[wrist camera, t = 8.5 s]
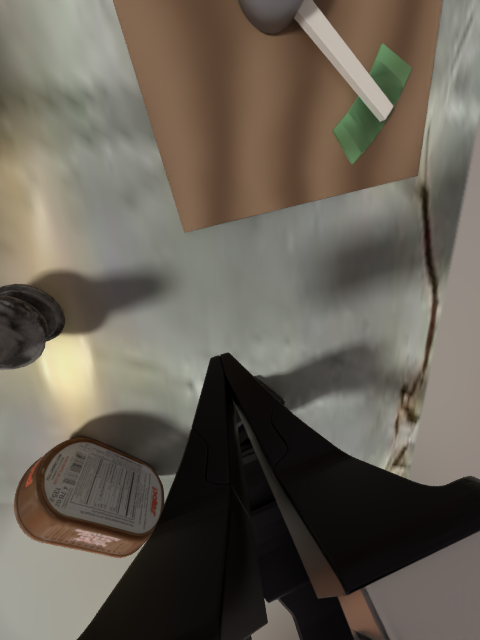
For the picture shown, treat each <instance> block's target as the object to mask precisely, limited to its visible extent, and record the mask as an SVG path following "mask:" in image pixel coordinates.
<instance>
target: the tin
mask: <svg viewBox="0 0 480 640" xmlns="http://www.w3.org/2000/svg"><path fill="white" fill-rule="evenodd" d="M163 507H164V490H163V485H162V482H161V480H160V478H159V476H158V475H157V473H156V472H155V470H154V469H153V468H152V467H151V466H150V465H148V464H147V463H145V462H143V461H140V460H138V459H136V458H134V457H132V456H129V455H127V454H125V453H123V452H121V451H118V450H116V449H114V448H112V447H110V446H107V445H105V444H103V443H101V442H98V441H96V440H93V439H90V438H74V439H70V440H67V441H64V442H62V443H60V444H59V445H57V446H55V447H54V448H53V449H51V450H50V451H49V452H48V453H46V454H45V455H44V456H43V457H41V458H40V459H39V460H37V461H36V462H35V463H34V464H33V465H32V466H31V467H30V468H29V469H28V470H27V471H26V473H25V474H24V475H23V477H22V479H21V480H20V482H19V485H18V487H17V490H16V494H15V500H14V513H15V517H16V520H17V522H18V524H19V526H20V528H21V529H22V530H23V532H24V533H25V534H26V535H27V536H29V537H30V538H31V539H33V540H35V541H38V542H41V543H46V544H52V545H56V546H61V547H67V548H71V549H77V550H82V551H87V552H91V553H97V554H101V555H105V556H110V557H116V558H122V557H126V556H129V555H131V554H133V553H134V552H136V551H137V550H138V549H139V548H140V547H141V546H142V545H143V544H144V543H145V542H146V541H147V540H148V538H149V536H150V535H151V533H152V531H153V529H154V527H155V525H156V523H157V521H158V519H159V516H160V514H161V512H162V509H163Z"/></svg>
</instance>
